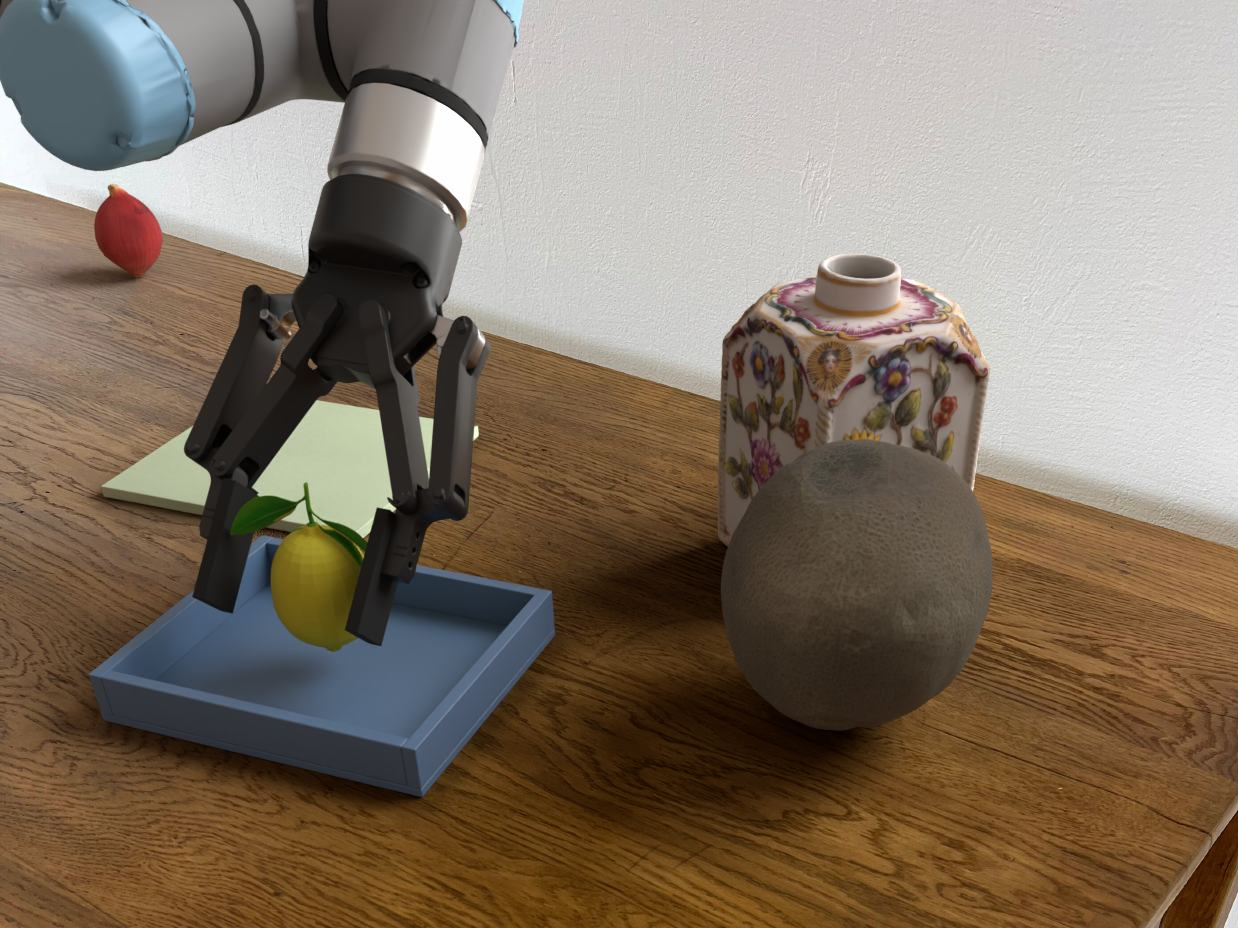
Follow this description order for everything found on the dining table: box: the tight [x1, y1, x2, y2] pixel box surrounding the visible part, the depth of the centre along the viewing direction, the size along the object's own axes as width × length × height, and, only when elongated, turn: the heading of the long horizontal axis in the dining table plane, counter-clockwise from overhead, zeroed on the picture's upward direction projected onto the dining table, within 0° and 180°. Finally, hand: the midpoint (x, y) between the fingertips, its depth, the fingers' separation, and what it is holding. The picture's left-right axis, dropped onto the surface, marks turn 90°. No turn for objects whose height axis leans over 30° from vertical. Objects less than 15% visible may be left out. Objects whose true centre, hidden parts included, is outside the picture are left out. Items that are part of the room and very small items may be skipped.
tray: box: [88, 534, 556, 798], centre depth 76 cm, size 20×17×3 cm
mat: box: [100, 399, 480, 539], centre depth 97 cm, size 20×18×1 cm
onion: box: [93, 183, 164, 278], centre depth 125 cm, size 6×6×8 cm
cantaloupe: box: [720, 439, 994, 732], centre depth 69 cm, size 14×14×15 cm
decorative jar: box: [717, 253, 991, 547], centre depth 81 cm, size 12×12×18 cm
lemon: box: [230, 482, 368, 652], centre depth 73 cm, size 7×6×10 cm
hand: (286, 621), depth 72 cm, fingers closed on lemon, 8 cm apart
